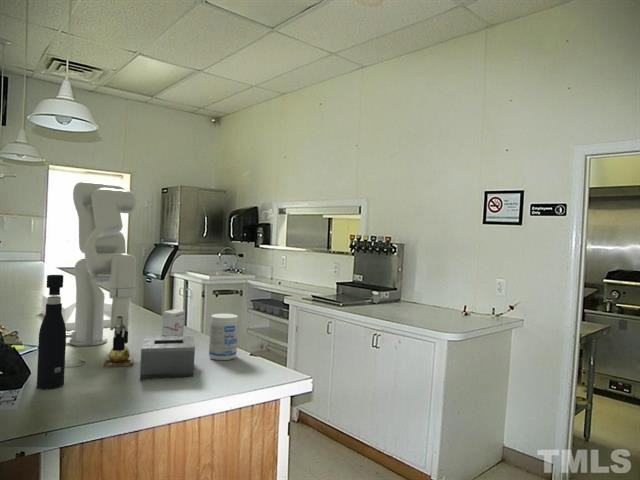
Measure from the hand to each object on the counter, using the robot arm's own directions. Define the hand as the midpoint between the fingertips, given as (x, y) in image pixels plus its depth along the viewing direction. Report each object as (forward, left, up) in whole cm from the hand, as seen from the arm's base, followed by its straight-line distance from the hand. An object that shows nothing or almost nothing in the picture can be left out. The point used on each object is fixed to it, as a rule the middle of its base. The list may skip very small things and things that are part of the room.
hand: (120, 346), depth 142 cm
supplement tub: (+33, +5, -6) cm, 34 cm away
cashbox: (+15, -8, -6) cm, 18 cm away
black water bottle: (-15, -17, -6) cm, 24 cm away
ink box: (+16, +31, -6) cm, 35 cm away
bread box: (-26, +77, -6) cm, 81 cm away
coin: (0, +1, -6) cm, 6 cm away
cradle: (0, +1, -6) cm, 6 cm away
